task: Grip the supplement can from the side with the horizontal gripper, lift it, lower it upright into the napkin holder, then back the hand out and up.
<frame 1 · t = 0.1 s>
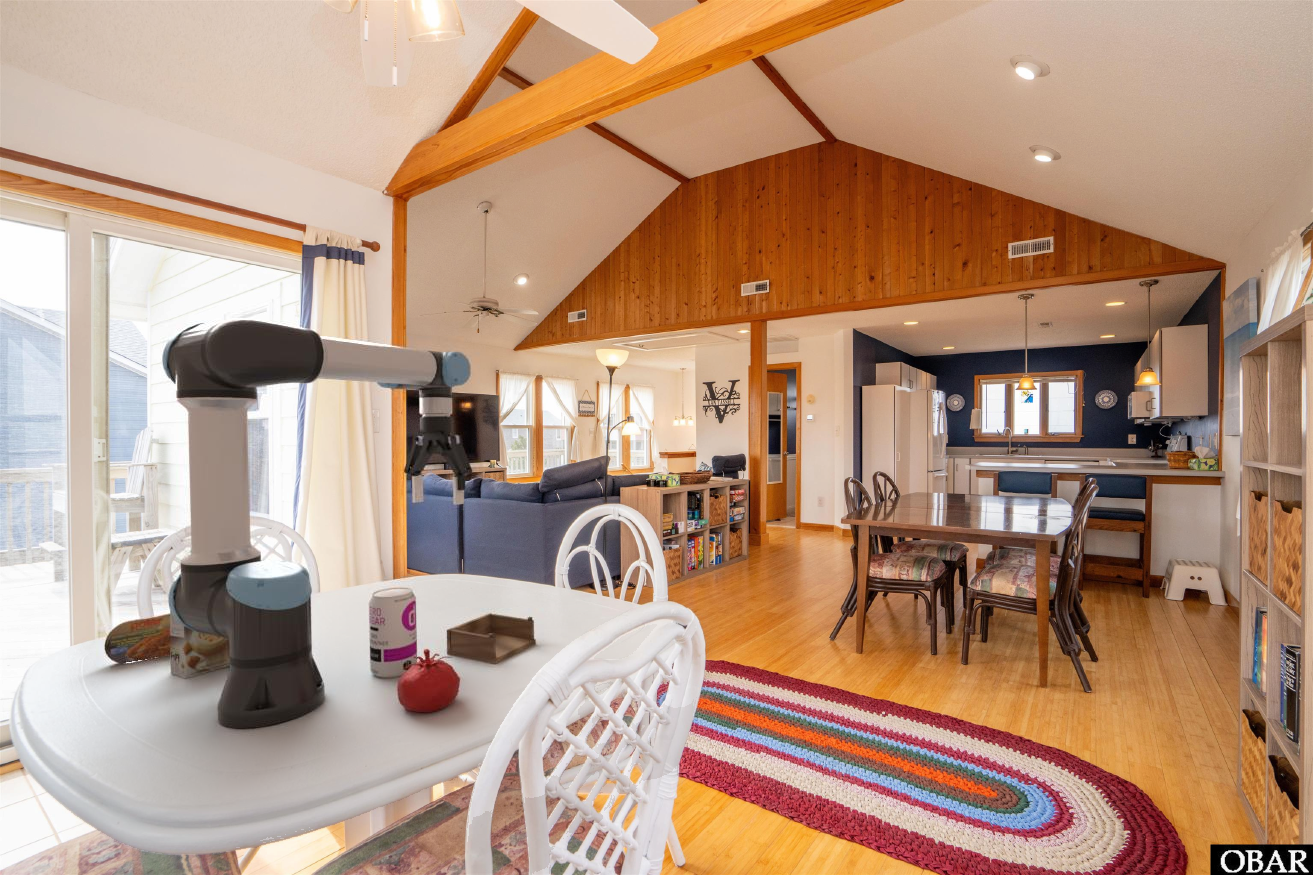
hand: (438, 503, 154), 28 cm above the table, tool pointing down, fingers open, 13 cm apart
coffee box: (205, 669, 123), on the table
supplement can: (394, 671, 120), on the table
napkin holder: (492, 648, 131), on the table
red tomato: (430, 706, 105), on the table
tin: (153, 657, 130), on the table
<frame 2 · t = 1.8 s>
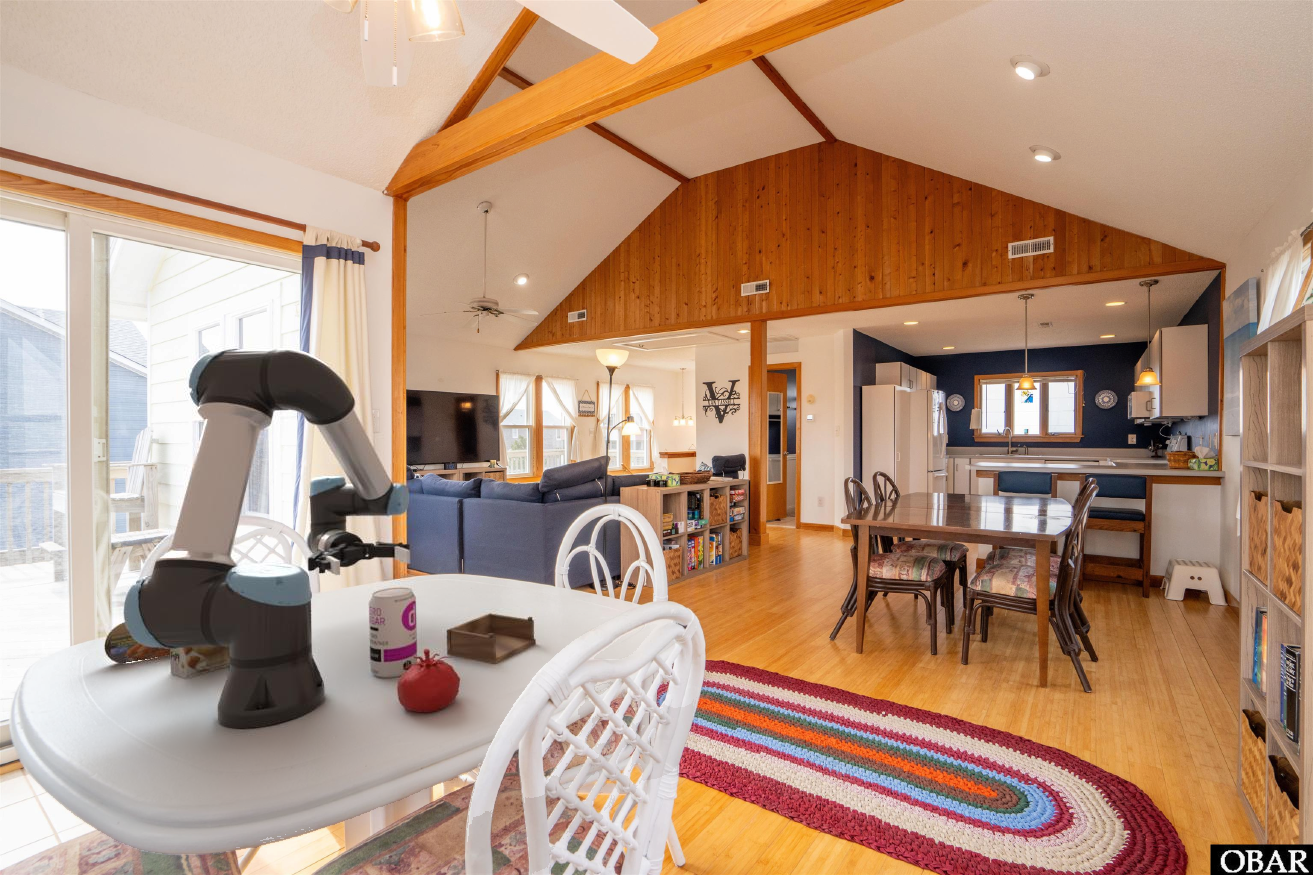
hand: (374, 562, 127), 19 cm above the table, tool horizontal, fingers open, 13 cm apart
nothing on the table moved.
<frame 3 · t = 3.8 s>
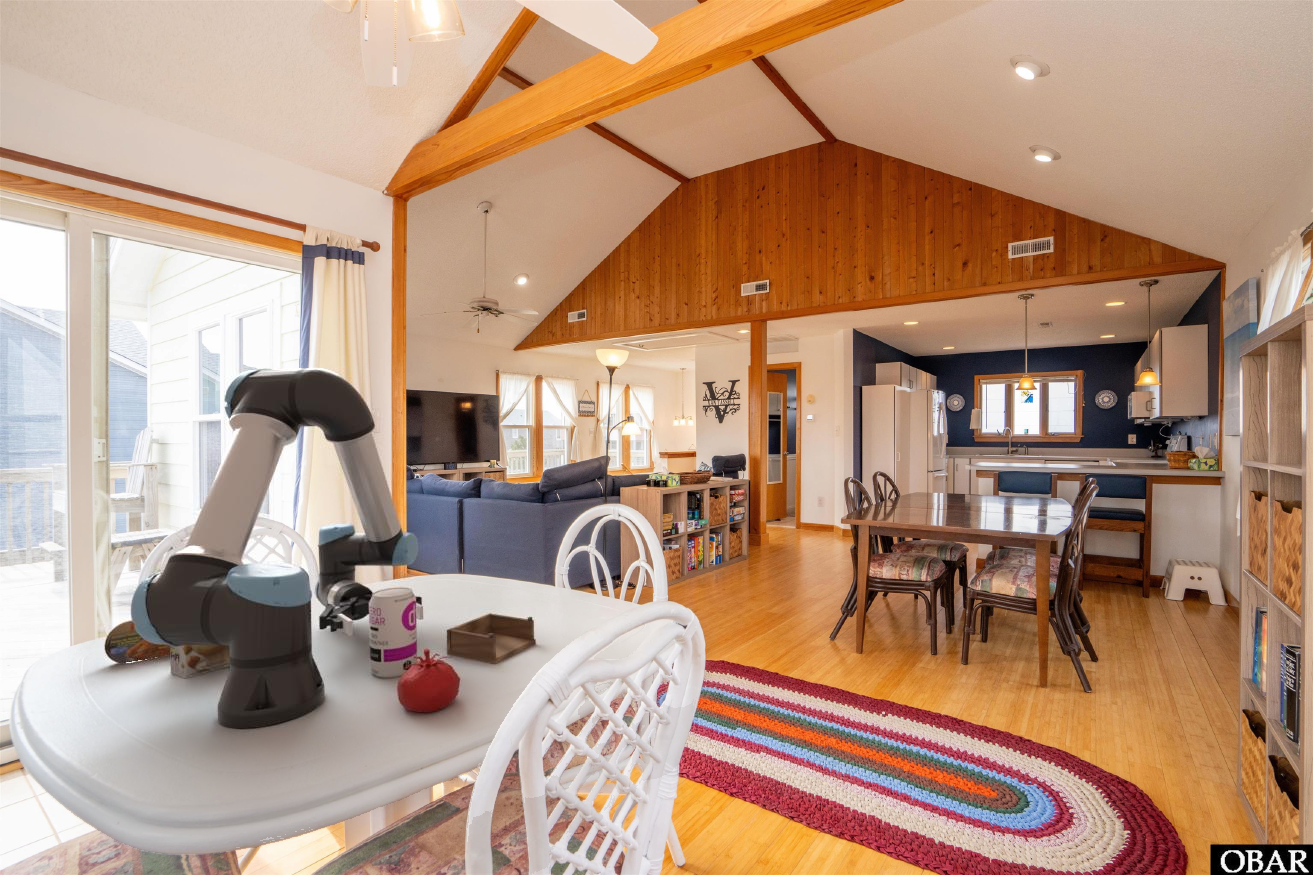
hand: (387, 620, 124), 8 cm above the table, tool horizontal, fingers open, 13 cm apart
nothing on the table moved.
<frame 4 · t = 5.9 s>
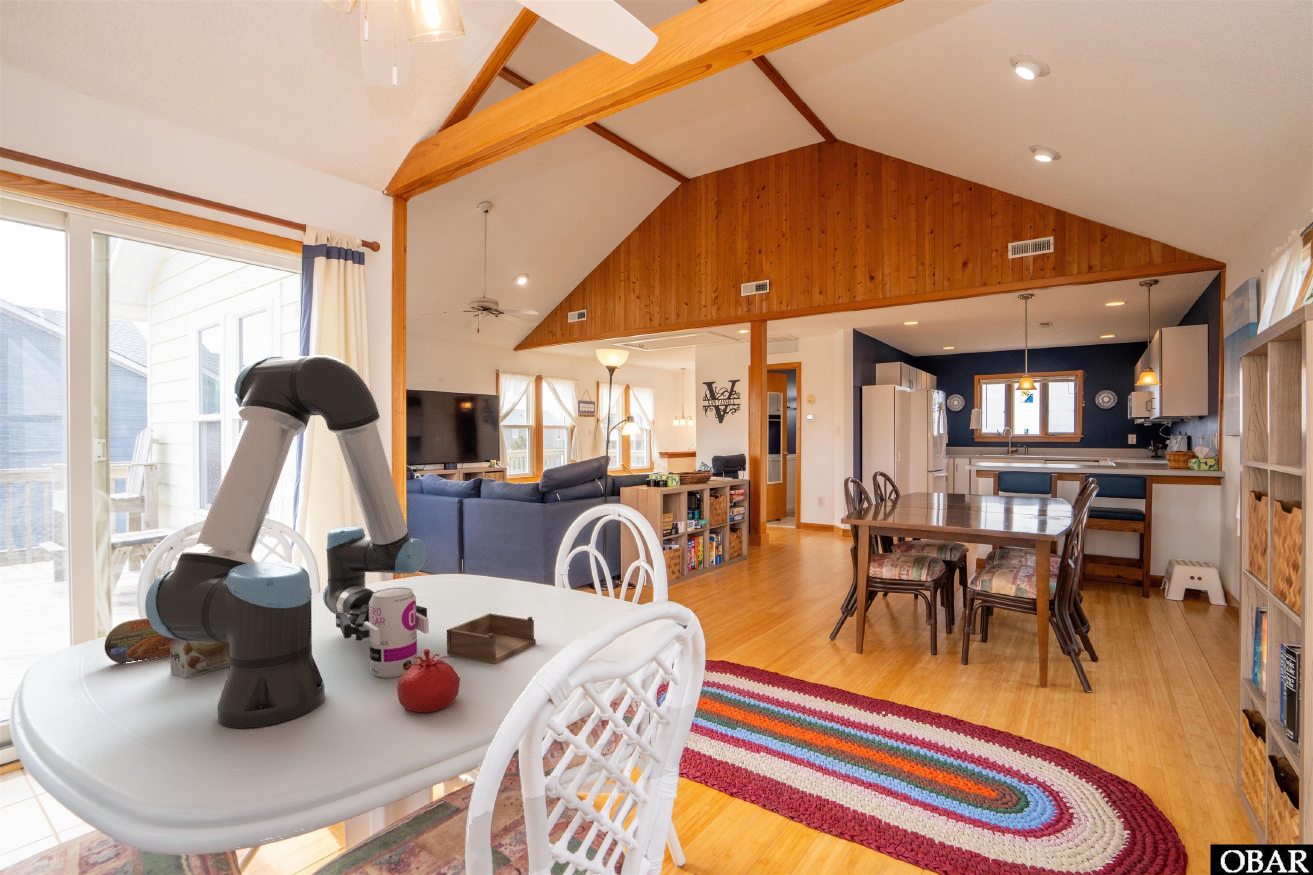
hand: (402, 631, 117), 9 cm above the table, tool horizontal, fingers closed on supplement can, 8 cm apart
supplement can: (394, 671, 120), on the table, touching gripper
everything else where it was.
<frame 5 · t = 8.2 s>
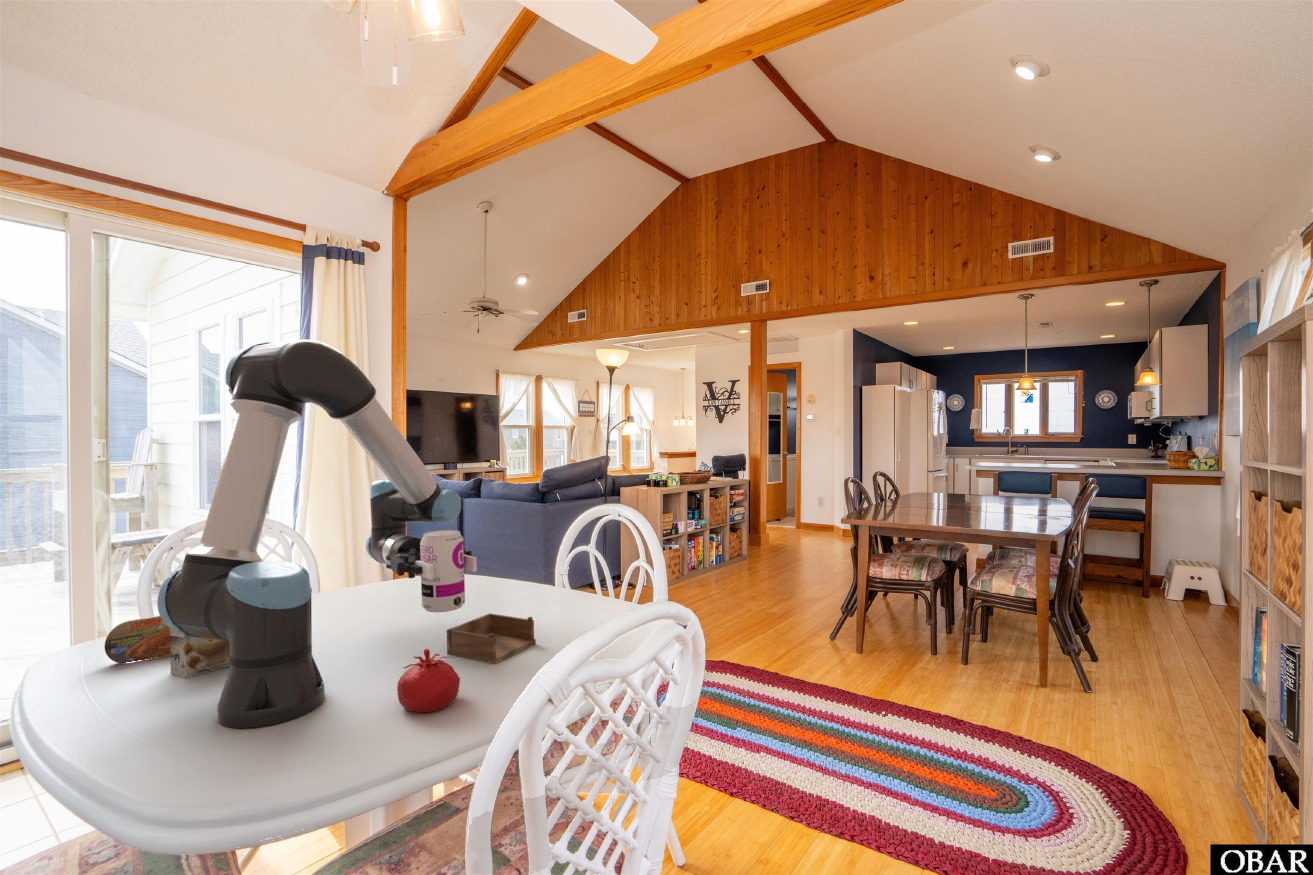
hand: (453, 568, 123), 18 cm above the table, tool horizontal, fingers closed on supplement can, 8 cm apart
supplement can: (443, 608, 127), point 10 cm above the table, touching gripper
everything else where it was.
when the fingers open (11 cm above the table, at t = 10.5 s): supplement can drops 1 cm, resting on napkin holder.
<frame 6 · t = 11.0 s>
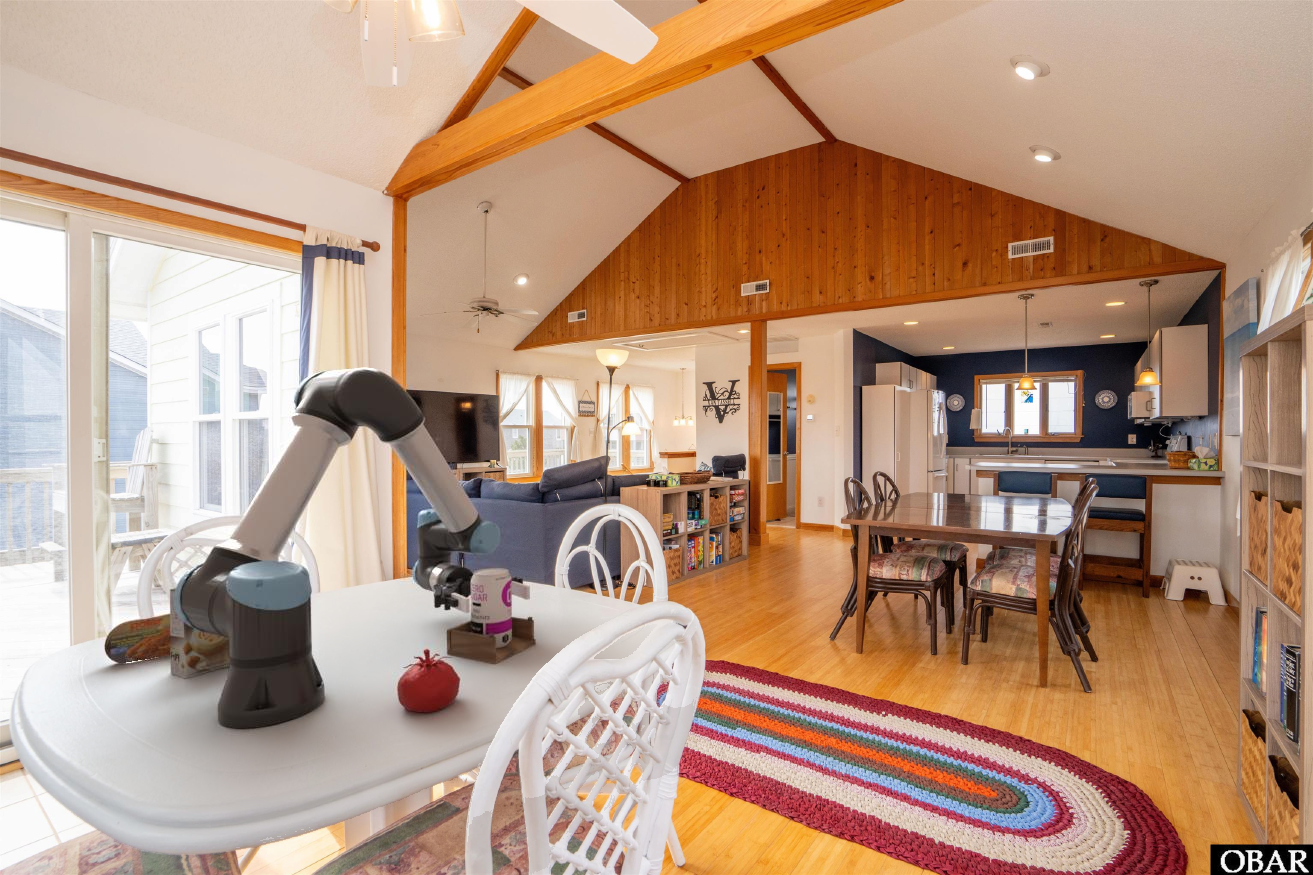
hand: (499, 599, 129), 11 cm above the table, tool horizontal, fingers open, 13 cm apart
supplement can: (491, 644, 131), point 1 cm above the table, touching napkin holder
everything else where it was.
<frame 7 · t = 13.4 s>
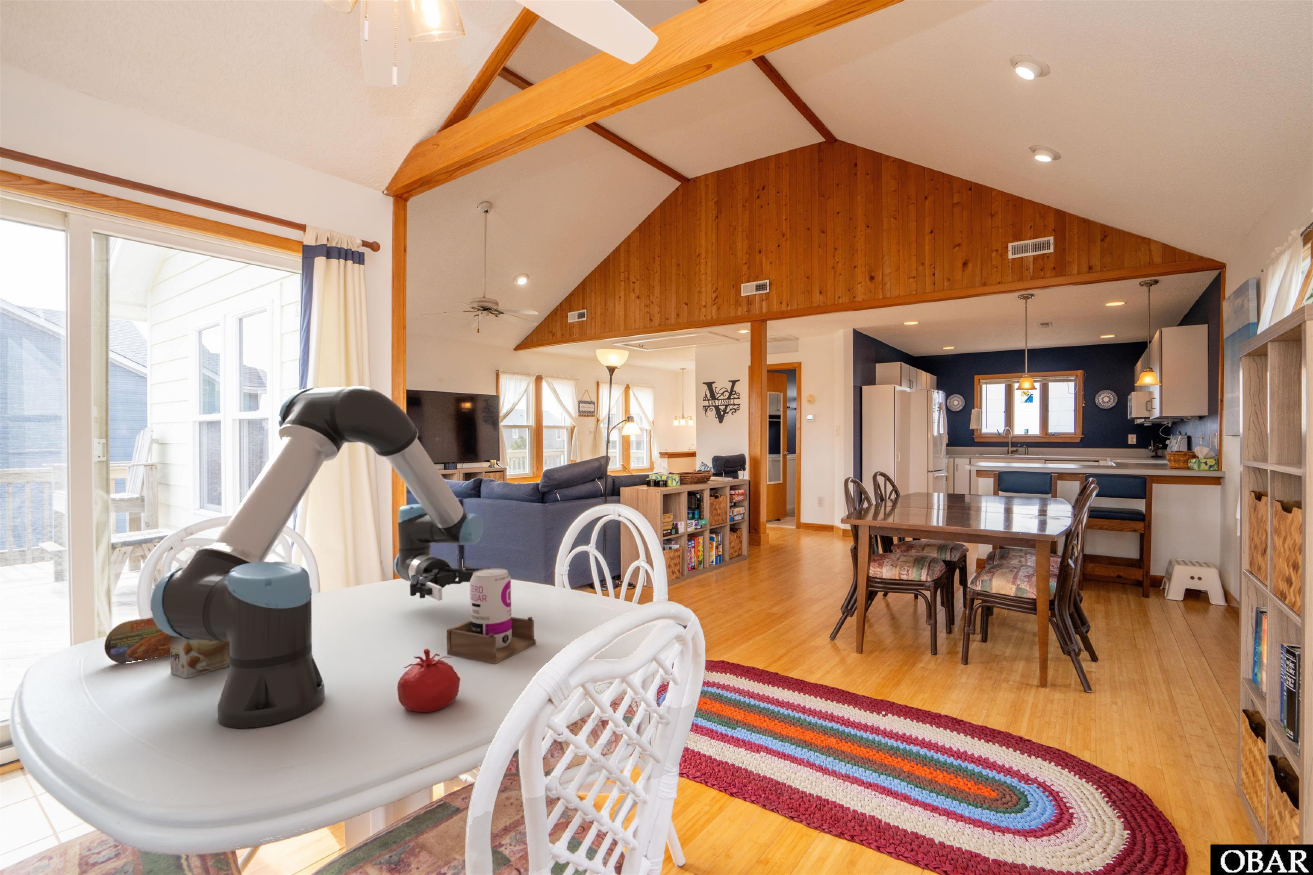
hand: (470, 587, 138), 11 cm above the table, tool horizontal, fingers open, 13 cm apart
nothing on the table moved.
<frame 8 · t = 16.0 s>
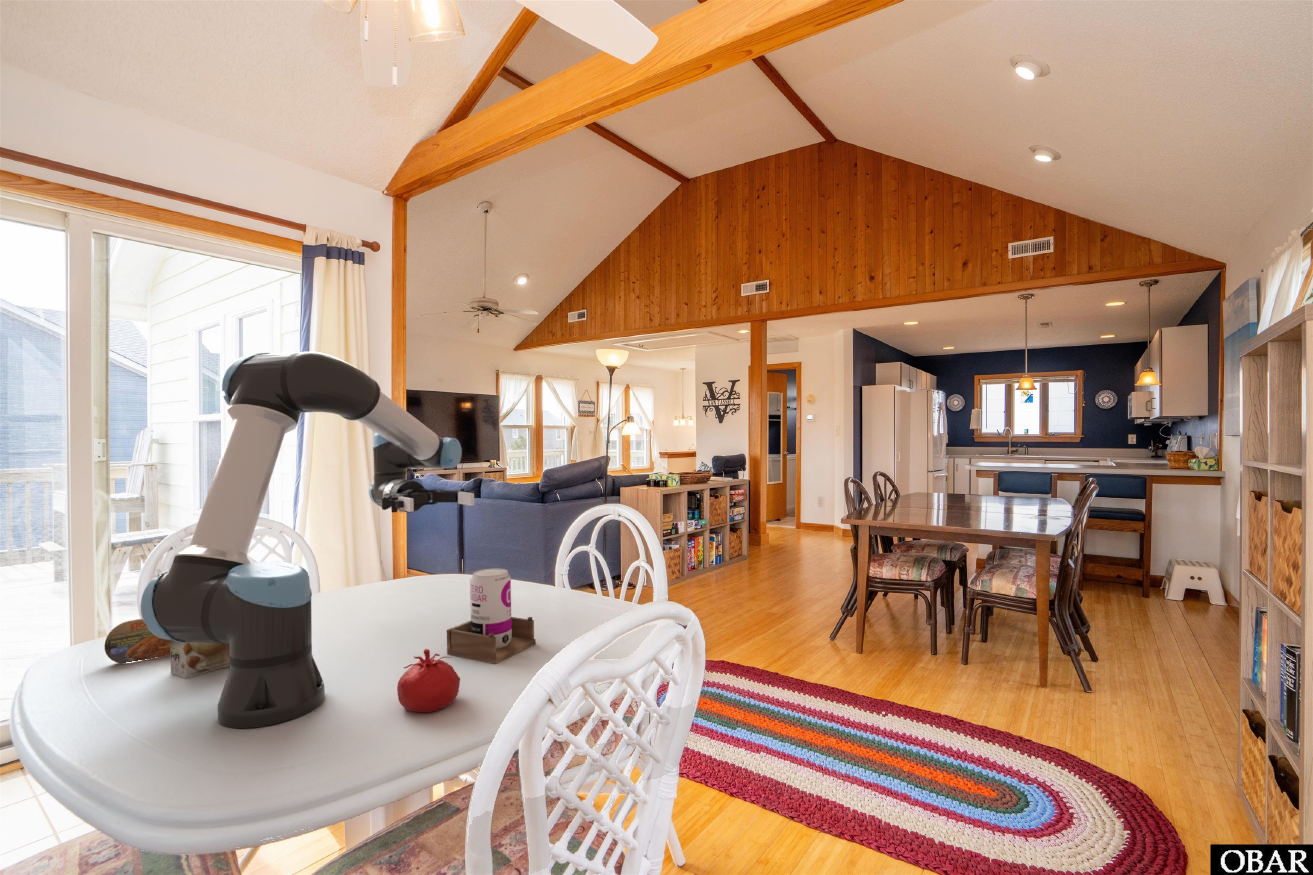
hand: (443, 502, 137), 30 cm above the table, tool horizontal, fingers open, 13 cm apart
nothing on the table moved.
at the end: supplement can 0.1 cm off-centre on the napkin holder, point 0.8 cm above the napkin holder's base; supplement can tilted 0°; the gripper is holding nothing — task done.
